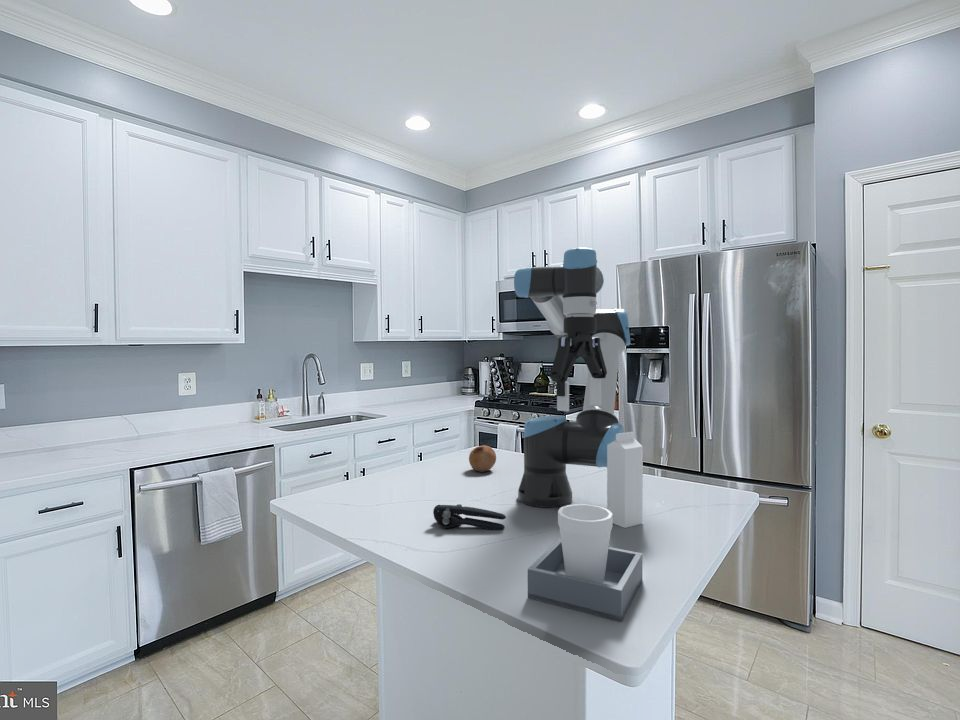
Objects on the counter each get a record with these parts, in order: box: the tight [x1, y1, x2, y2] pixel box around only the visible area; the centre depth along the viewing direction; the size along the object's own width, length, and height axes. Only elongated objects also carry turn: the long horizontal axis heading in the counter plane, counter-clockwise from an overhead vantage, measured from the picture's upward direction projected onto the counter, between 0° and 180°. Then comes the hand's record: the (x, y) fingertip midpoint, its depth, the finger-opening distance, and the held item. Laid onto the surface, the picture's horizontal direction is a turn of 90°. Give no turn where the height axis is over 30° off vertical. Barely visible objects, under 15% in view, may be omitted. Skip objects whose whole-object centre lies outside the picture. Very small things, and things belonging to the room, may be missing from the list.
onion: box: [468, 444, 497, 473], centre depth 175 cm, size 10×9×10 cm
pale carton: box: [606, 431, 644, 529], centre depth 123 cm, size 6×6×22 cm
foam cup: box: [557, 503, 614, 583], centre depth 90 cm, size 10×9×13 cm
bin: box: [527, 537, 643, 623], centre depth 90 cm, size 16×16×5 cm
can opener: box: [432, 503, 507, 531], centre depth 121 cm, size 18×7×6 cm, turn 79°
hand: (580, 408), depth 118 cm, fingers open, 13 cm apart
